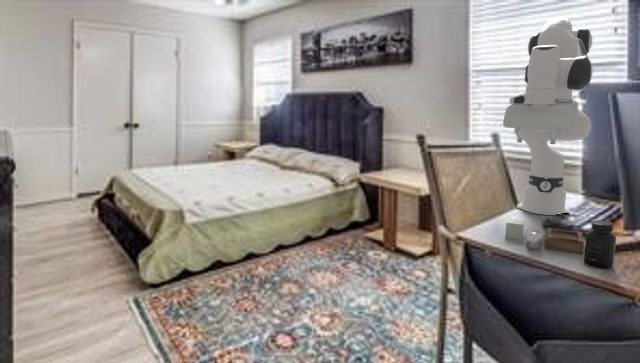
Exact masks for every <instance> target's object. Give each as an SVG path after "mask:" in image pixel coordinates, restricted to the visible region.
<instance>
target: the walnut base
mask: <svg viewBox="0 0 640 363" xmlns="http://www.w3.org/2000/svg"><path fill="white" fill-rule="evenodd" d="M544 249H545V250H548V249H551V250H550V251H555V250H557V252H561V253H562V252H563V253H570V254H576V255H577V254H578V255H584V253H585V241H584V237H583V233H582V231H579V230H569V229H568V230H567V229H563V228H562V229H561V228H552V227H546V230H545V235H544Z"/></svg>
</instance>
